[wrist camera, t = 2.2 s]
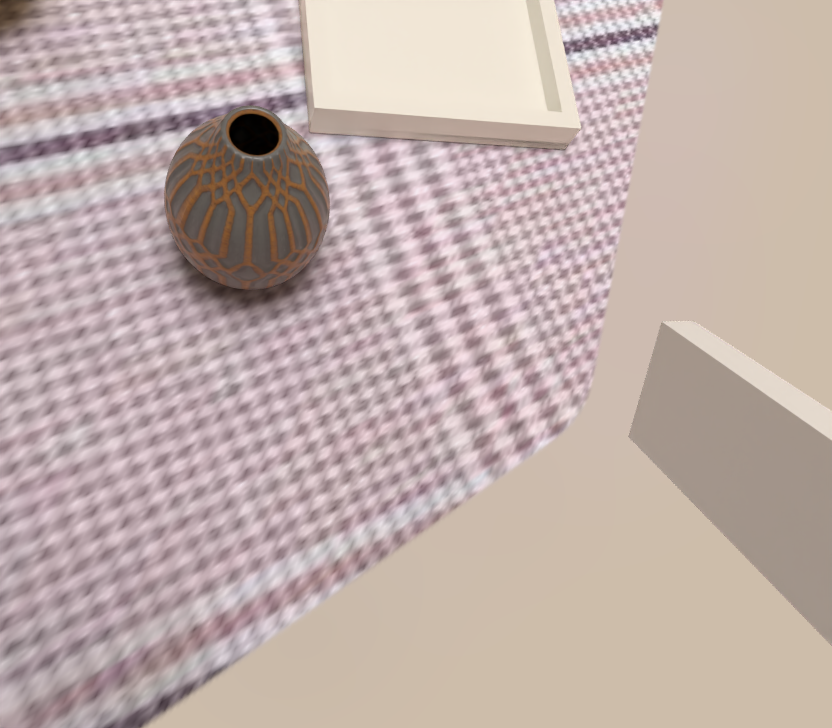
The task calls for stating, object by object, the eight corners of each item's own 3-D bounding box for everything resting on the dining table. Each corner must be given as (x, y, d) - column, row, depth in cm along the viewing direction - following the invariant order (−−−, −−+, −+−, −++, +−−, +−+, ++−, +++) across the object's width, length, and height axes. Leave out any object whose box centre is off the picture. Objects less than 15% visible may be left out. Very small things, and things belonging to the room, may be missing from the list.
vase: (345, 262, 34) (384, 162, 26) (230, 337, 31) (232, 251, 23) (261, 158, 34) (273, 27, 26) (140, 223, 31) (111, 99, 23)
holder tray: (309, 132, 35) (314, 107, 33) (291, -88, 39) (294, -120, 38) (564, 149, 40) (581, 128, 38) (524, -50, 44) (537, -78, 42)
